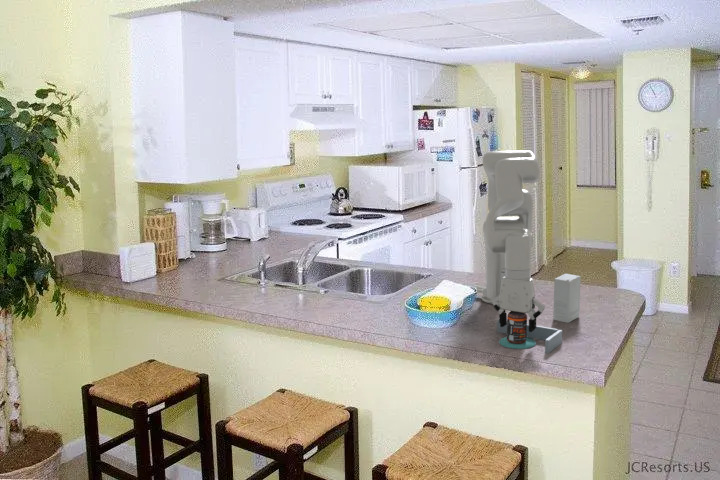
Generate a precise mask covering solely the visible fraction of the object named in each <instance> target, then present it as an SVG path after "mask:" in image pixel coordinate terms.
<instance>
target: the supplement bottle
mask: <svg viewBox="0 0 720 480" xmlns="http://www.w3.org/2000/svg"><path fill="white" fill-rule="evenodd" d="M527 324H528V314H527V313H521V312H514V311H508V312H507V334H506V337H507V341H508V342H510V343H513V344H523V343H525V342H526V338H528V337H527Z"/></svg>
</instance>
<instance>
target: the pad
mask: <svg viewBox="0 0 720 480" xmlns="http://www.w3.org/2000/svg"><path fill="white" fill-rule="evenodd" d="M498 343H499V345H501V346H502V347H504V348H506V349H507V348H508V349H513V350H514V349H515V350H526V349H531V348H533V347H535V346H536V345H537V343H536V341H535V340H534V338H529V337H527V338H526V342H525V343H523V344H513V343H510V342H508V341H507V336H505V337H502V338H500V339H499V341H498Z"/></svg>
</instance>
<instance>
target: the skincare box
mask: <svg viewBox="0 0 720 480" xmlns="http://www.w3.org/2000/svg"><path fill="white" fill-rule="evenodd" d="M581 279H582V278H581V275H577V274H570V273H563V274H562V275H560V276H557V277H555V278H554V285H553V287H554V288H553V318H552V319H553V320H554V321H558V322H564V323H568V324H569V323H571V322H572V321H574V320H576V319H578V318H579V317H580V309H581V308H580V301H581Z"/></svg>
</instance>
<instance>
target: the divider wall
mask: <svg viewBox="0 0 720 480" xmlns="http://www.w3.org/2000/svg"><path fill="white" fill-rule="evenodd" d="M496 332H497V333H501V334H506V335H507V324H506V325H505V326H504V327H500V323H499V319H497V320H496ZM527 338H531V339H535V340H542V341H544V353H545V354H550V353H551V352H552V351H553V350H555V349H556V348H558V346H560V345H561V344H562V343H563V329H558V328H555V327H549V326H541V325H536V329H535V330H534V331H532V332H529V323H527Z"/></svg>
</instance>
